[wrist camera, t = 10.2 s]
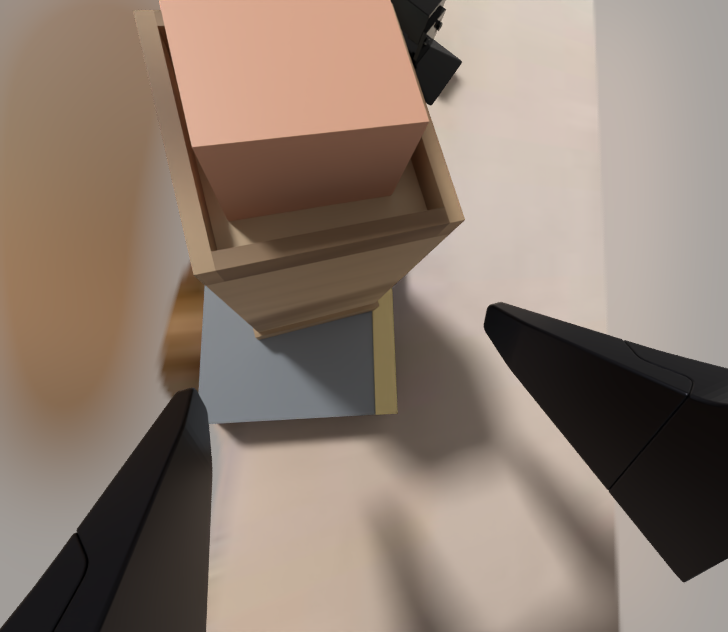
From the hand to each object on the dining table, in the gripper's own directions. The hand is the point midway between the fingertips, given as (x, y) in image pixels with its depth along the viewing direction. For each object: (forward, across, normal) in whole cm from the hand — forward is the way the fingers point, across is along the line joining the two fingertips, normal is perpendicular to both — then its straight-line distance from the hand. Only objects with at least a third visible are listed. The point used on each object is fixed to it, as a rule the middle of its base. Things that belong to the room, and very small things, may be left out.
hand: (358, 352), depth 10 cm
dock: (+11, 0, +4) cm, 12 cm away
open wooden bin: (+9, 0, +2) cm, 9 cm away
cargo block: (+2, 0, -6) cm, 6 cm away
